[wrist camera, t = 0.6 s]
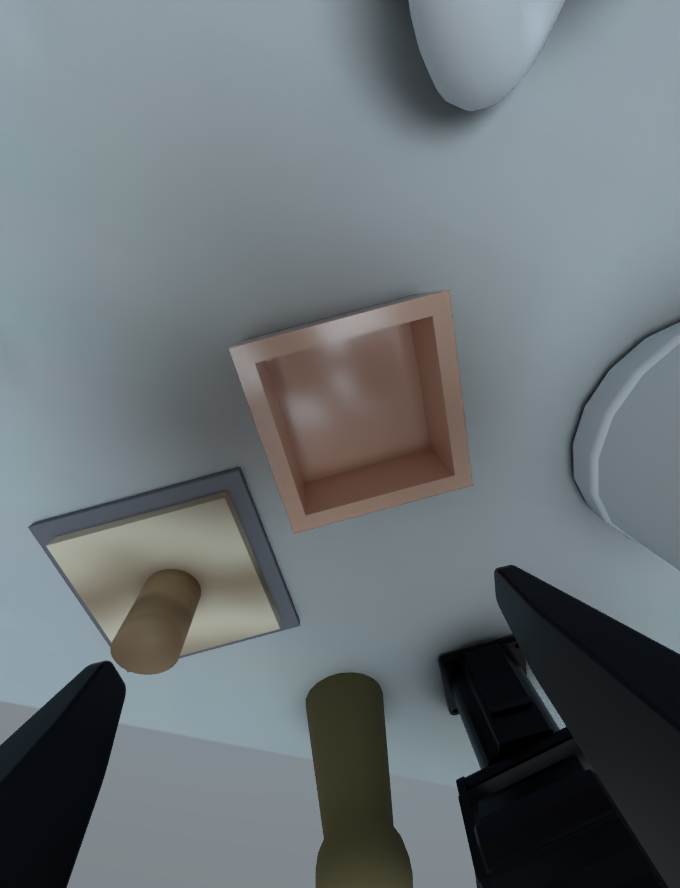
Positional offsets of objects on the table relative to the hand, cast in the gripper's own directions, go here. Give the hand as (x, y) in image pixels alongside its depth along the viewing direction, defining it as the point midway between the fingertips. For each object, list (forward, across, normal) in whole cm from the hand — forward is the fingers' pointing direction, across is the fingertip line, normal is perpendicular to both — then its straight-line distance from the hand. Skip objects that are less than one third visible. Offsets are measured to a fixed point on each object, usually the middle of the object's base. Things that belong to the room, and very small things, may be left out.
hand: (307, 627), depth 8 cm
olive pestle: (+13, +2, +22) cm, 25 cm away
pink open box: (+13, -3, -2) cm, 13 cm away
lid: (+12, +10, +7) cm, 17 cm away
